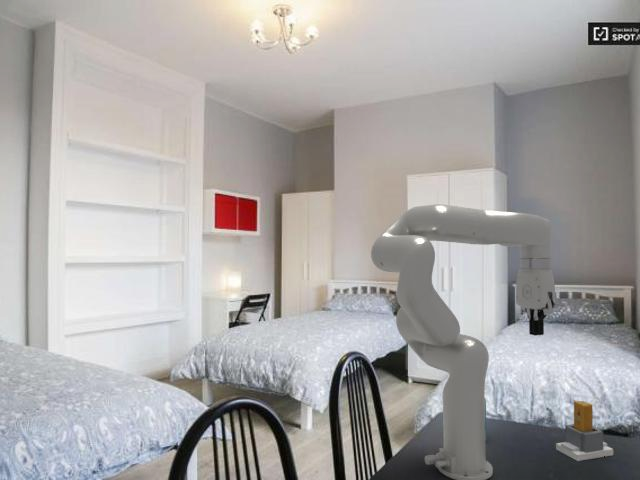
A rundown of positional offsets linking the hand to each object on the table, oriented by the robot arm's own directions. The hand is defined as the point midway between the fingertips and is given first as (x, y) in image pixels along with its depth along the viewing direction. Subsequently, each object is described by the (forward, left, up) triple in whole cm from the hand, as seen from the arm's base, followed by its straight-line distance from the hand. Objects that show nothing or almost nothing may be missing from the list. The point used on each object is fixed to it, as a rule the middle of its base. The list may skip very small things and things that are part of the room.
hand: (536, 334), depth 127 cm
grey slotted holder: (+8, -7, -29) cm, 31 cm away
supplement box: (+8, -7, -27) cm, 29 cm away
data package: (-12, +12, -29) cm, 34 cm away
